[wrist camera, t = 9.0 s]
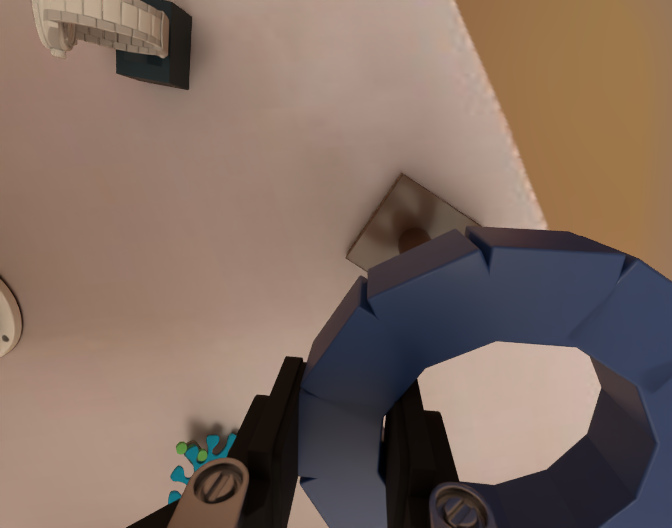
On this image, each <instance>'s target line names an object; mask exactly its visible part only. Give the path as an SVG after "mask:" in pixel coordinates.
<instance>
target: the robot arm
mask: <svg viewBox="0 0 672 528" xmlns="http://www.w3.org/2000/svg"><path fill="white" fill-rule="evenodd" d="M21 329H22V323H21V315H20V310H19V307H18V305H17V302H16V300H15V298H14V296H13V295H12V293H11V291H10V290H9V288H8V287H7V286H6V285H5V284H4V282H3V281H2V280H1V279H0V357H2V356H4V355H5V354H7V353H8V352H10V351H11V350H12V349H13V348H14V347H15V346H16V344H17V342H18V340H19V338H20V335H21ZM306 364H307V362H303V358H300V357H289V356H286V357H285V359H284V362H283V364H282V367H281V369H280V372H279V374H278V377H277V379H276V381H275V384H274V386H273V389H272V391H271V394H270V396H267V395H256V396H255V398H254V399H253V401H252V404H251V406H250V408H249V410H248V412H247V414H246V416H245V419H244V421H243V423H242V425H241V427H240V429H239V431H238V434H237V436H236V438H235V440H234V442H233V444H232V446H231V449H230V451H229V453H228V455H227V457H226V458H218V459H215V460H212V461H209V462H207V463H206V464H204V465H202V466H201V467H200V468H198V469H197V470H196V471H195V472H194V473H193V475H192V476H191V478H190V479H189V481H188V483H187V486H186V488H185V490H184V492H183V494H182V496H181V498H179V499H177V500H176V501H174V502H172V503H170V504H168V505H166V506H165V507H163V508H161V509H159V510H157V511H155V512H154V513H152V514H150V515H148V516H146V517H145V518H143V519H141V520H139V521H137V522H135V523H134V524H132V525H130V526H128V527H126V528H287V524H288V520H289V515H290V510H291V506H292V501H293V497H294V492H295V488H296V483H297V479H298V423H299V392H300V389H301V386H300V384H301V381H302V378H303V374H304V371H305V368H306ZM384 460H385V481H386V485H385V489H386V510H387V528H498V527H497V524H496V520H495V516H494V513H493V511H492V509H491V506H490V505H489V503H488V502H487V501H486V500H485V498H484V497H483V496H482V495H481V494H479V493H478V492H477V491H476V490H475V489H473V488H471V487H469V486H467V485H465V484H461V483H460V482H459V478H458V475H457V471H456V467H455V464H454V460H453V456H452V453H451V449H450V445H449V442H448V438H447V434H446V431H445V427H444V423H443V420H442V416H441V414H440V412H438V411H427V410H424V409H423V404H422V399H421V395H420V390H419V385H418V380H417V379H416V380H415V381H414V382H413V383H412V385H411V386H410V387H409V388H408V389H407V390H406V392H405V393H404V394H403V395H402V396H401V397H400V399H399V400H398V401H397V402H394V406H393V407H392V408H391V409H390V410H389V411H388V413H387V414H386V420H385V430H384Z"/></svg>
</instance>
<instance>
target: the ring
mask: <svg viewBox="0 0 672 528" xmlns="http://www.w3.org/2000/svg"><path fill="white" fill-rule="evenodd" d="M495 341H502V342H514V343H527V344H540V345H553V346H566V347H577V348H578V349H580V350H581V351H583V352H584V353H586V354H587V355H589V356H590V358H591V361H592V363H593V366H594V369H595V371H596V374H597V376H598V379H599V382H600V384H601V391H600V394H599V397H598V400H597V404H596V407H595V410H594V413H593V417H592V420H591V423H590V426H589V429H588V433H587V434H586V435H585V436H584V437H583V438H582V439H581V440H580V441H578V442H577V443H576V444H575V445H574V446H573V447H572V448H570V449H569V450H568V451H567V452H566V453H565V454H564V455H563V456H561V457H560V458H559V459H558V460H557V461H556V462H555V463H553V464H552V465H551V466H550V467H549V468H548V469H547V470H543V471H540V472H537V473H533V474H530V475H527V476H523V477H520V478H516V479H513V480H510V481H506V482H503V483H500V484H496V485H489V484H479V483H470V482H460V481H459V482H460V483H461V484H465V485H467V486H469V487H471V488H473V489H475V490H476V491H477V492H478V493H479V494H481V495H482V496H483V497H484V498H485V500H486V501H487V502H488V503H489V505H490V506H491V509H492V511H493V513H494V516H495V520H496V524H497V527H498V528H672V281H671V280H669V279H668V278H666V277H665V276H663V275H662V274H661V273H659V272H658V271H656V270H655V269H653V268H652V267H650V266H649V265H648V264H646V263H644V262H643V261H642V260H640V259H639V258H636V257H634V256H631V255H629V254H626V253H624V252H621V251H619V250H616V249H614V248H611V247H608V246H606V245H603V244H601V243H598V242H596V241H593V240H591V239H588V238H586V237H583V236H578V235H576V234H574V233H571V232H567V231H549V230H531V229H513V228H495V227H477V226H467V227H466V230H465V236H464V235H463V234H462V233H461V232H460V231H459V230H457V229H453V230H451V231H449V232H447V233H445V234H443V235H440V236H438V237H436V238H434V239H432V240H430V241H428V242H425V243H423V244H421V245H419V246H417V247H415V248H412V249H410V250H408V251H406V252H404V253H402V254H400V255H397V256H395V257H393V258H391V259H389V260H387V261H384V262H382V263H380V264H378V265H376V266H374V267H372V268H369V269H368V279H366V278H365V277H363V276H361V275H360V276H359V277H358V279H357V280H356V282H355V283H354V285H353V286H352V287H351V289H350V290H349V292H348V293H347V294H346V296H345V297H344V299H343V300H342V302H341V303H340V304H339V306H338V307H337V309H336V310H335V312H334V313H333V314H332V316H331V317H330V319H329V320H328V321H327V323H326V324H325V326H324V327H323V329H322V330H321V331H320V333H319V334H318V336H317V337H316V339H315V340H314V341H313V344H312V347H311V351H310V353H309V357H308V360H307V364H306V368H305V371H304V374H303V378H302V381H301V384H300V386H301V389H300V392H299V423H298V476H301V477H300V485H301V487H302V488H303V490H304V491H305V493H306V494H307V496H308V497H309V499H310V500H311V502H312V503H313V504H314V506H315V507H316V509H317V510H318V512H319V513H320V515H321V516H322V518H323V519H324V521H325V522H326V524H327V525H328V527H329V528H387V510H386V489H385V485H386V481H385V460H384V430H385V429H384V427H383V418H384V416H385V415H386V414H387V413H388V411H389V410H390V409H391V408H392V407H393V406H394V402H397V401H398V400H399V399H400V397H401V396H402V395H403V394H404V393H405V392H406V390H407V389H408V388H409V387H410V386H411V385H412V383H413V382H414V381H415V380H416V379H417V378H418V376H419V375H420V374H421V373H422V372H423V371H424V369H425V368H427V367H430V366H433V365H435V364H438V363H441V362H443V361H446V360H448V359H451V358H454V357H456V356H459V355H461V354H464V353H467V352H469V351H472V350H474V349H477V348H480V347H482V346H485V345H487V344H490V343H493V342H495Z"/></svg>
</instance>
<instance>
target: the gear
mask: <svg viewBox="0 0 672 528" xmlns="http://www.w3.org/2000/svg"><path fill="white" fill-rule="evenodd" d="M235 438H236V435H235V434H233V433H231V434H230V435H229V436H228V439H227V443H226V445H225V447H224V448H223V450H222V451H221V452H220V453H218V454H216V455H214V454H213V453H212V450H213V448H214V447H215V446H216V445H217V444H218V442H219V436H217V435H208V436H207V438H206V442H207V445H208V452H206V450H205V449H202V448H201V447H200V446H199V445H198V444H197V442H195V441H190V442H188V443H185V442H179V443H178V444H177V446H176V450H177V453H178V454H184V455H185V456H186V457H187V459H188V460H189V461H190V462H191V464H192V465H193V466H194V472H195V471H196V470H197V469H198V468H200V467H201V466H202V465H204V464H206V463H207V462H209V461H212V460H215V459H218V458H226V457H227V455H228V450H229V449H230V448H231V446H232V444H233V442H234V440H235ZM190 478H191V477H190ZM190 478H186V477H185V476H184V470H183V468H182V467H181V466H177V467H176V468H175V469H174V471H173V472H172V474H171V479H172V480H173V481H179V482H183V483H185V484H186V485H187V483H188V481H189V479H190ZM181 496H182V495H181V494H180V493H179V492H178V491H171V492H170V494H169V499H168V504H170V503H172V502H174V501H176V500H177V499H179V498H181Z"/></svg>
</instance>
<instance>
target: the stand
mask: <svg viewBox="0 0 672 528" xmlns="http://www.w3.org/2000/svg"><path fill="white" fill-rule="evenodd" d="M467 226H477V227H482V226H480V225H479V224H477V223H476V222H474V221H473V220H471V219H470V218H468V217H467V216H465V215H464V214H462V213H461V212H459V211H458V210H456V209H455V208H453V207H452V206H450V205H449V204H448V203H446V202H445V201H443V200H442V199H440V198H439V197H437V196H436V195H434V194H433V193H431V192H430V191H428V190H427V189H425V188H424V187H422V186H421V185H419V184H418V183H416V182H415V181H413V180H412V179H410V178H409V177H407V176H406V175H404V174H403V173H401V174H400V176H399V177H398V179H397V180H396V182H395V183H394V185H393V186H392V188H391V189H390V191H389V192H388V194H387V195H386V197H385V198H384V200H383V201H382V203H381V204H380V205H379V207H378V208H377V210H376V211H375V213H374V214H373V216H372V217H371V219H370V220H369V222H368V223H367V225H366V226H365V228H364V229H363V231H362V232H361V234H360V235H359V236H358V238H357V239H356V241H355V242H354V244H353V245H352V247H351V248H350V250H349V251H348V253H347V254H346V259H348V260H349V261H351V262H353V263H354V264H356V265H357V266H359V267H360V268H362V269H364V270H365V271H367V272H368V269H369V268H372V267H374V266H376V265H378V264H380V263H382V262H384V261H387V260H389V259H391V258H393V257H395V256H397V255H400V254H402V253H404V252H406V251H408V250H410V249H412V248H415V247H417V246H419V245H421V244H423V243H425V242H428V241H430V240H432V239H434V238H436V237H438V236H440V235H443V234H445V233H447V232H449V231H451V230H453V229H457V230H459V231H460V232H461V233H462V234H463V235H464V236H465V230H466V227H467Z"/></svg>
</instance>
